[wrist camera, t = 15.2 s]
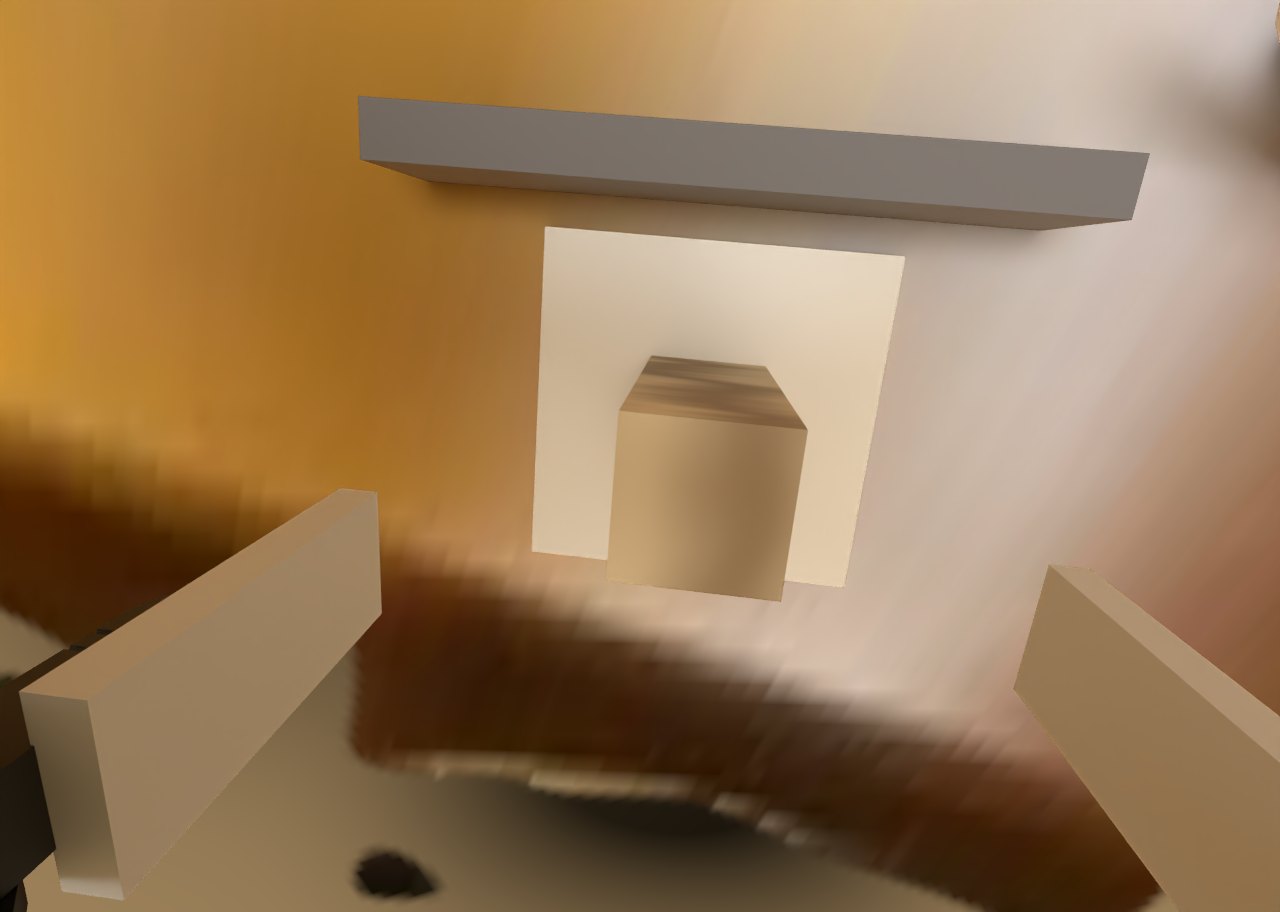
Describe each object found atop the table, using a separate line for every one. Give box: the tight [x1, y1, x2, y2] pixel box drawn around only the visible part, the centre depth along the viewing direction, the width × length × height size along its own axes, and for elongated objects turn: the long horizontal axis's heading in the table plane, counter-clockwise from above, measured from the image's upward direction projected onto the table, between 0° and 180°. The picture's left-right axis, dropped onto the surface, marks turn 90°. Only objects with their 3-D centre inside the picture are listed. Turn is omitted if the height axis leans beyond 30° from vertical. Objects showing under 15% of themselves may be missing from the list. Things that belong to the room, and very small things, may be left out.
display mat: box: [532, 226, 906, 587], centre depth 30 cm, size 15×15×1 cm
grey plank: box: [358, 96, 1150, 230], centre depth 25 cm, size 26×2×6 cm, turn 85°
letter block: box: [606, 355, 808, 602], centre depth 24 cm, size 5×5×12 cm
